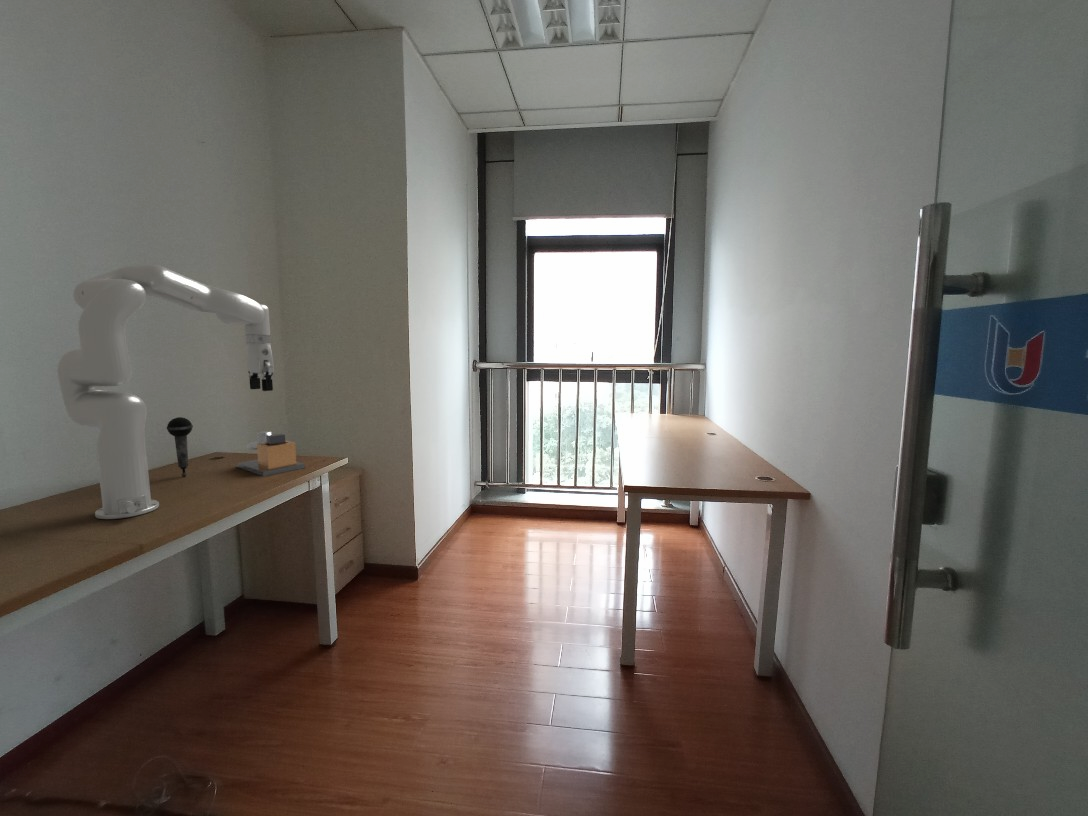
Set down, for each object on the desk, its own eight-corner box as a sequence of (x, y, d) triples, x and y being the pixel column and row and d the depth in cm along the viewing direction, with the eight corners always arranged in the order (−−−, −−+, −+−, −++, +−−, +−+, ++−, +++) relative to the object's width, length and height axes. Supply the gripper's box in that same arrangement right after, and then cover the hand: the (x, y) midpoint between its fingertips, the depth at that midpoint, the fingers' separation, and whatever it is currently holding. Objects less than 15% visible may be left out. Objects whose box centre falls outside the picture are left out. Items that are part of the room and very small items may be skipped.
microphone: (198, 472, 161) (193, 415, 158) (195, 477, 155) (190, 418, 153) (172, 475, 157) (167, 416, 155) (169, 480, 152) (163, 419, 149)
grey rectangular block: (286, 465, 167) (284, 434, 166) (271, 467, 163) (269, 436, 162) (283, 463, 169) (281, 433, 167) (268, 466, 165) (266, 435, 164)
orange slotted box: (304, 467, 169) (302, 433, 167) (263, 476, 158) (261, 439, 156) (277, 459, 181) (275, 427, 179) (237, 467, 169) (234, 433, 168)
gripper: (281, 340, 159) (284, 390, 162) (259, 340, 170) (262, 387, 172) (257, 340, 153) (260, 392, 156) (235, 340, 164) (239, 389, 166)
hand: (261, 389), depth 164 cm, fingers open, 9 cm apart
